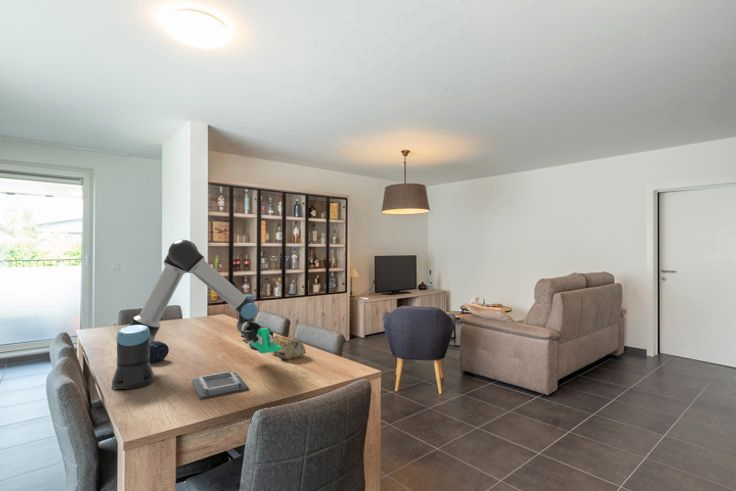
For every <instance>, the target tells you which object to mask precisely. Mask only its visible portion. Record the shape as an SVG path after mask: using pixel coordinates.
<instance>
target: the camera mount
mask: <svg viewBox="0 0 736 491" xmlns="http://www.w3.org/2000/svg"><path fill="white" fill-rule="evenodd" d="M268 328H269V327H261V329H259V330H258V333H257V334H258V335H260V336H261V337H262V344H260V343H258V342H257V341H256V342H255V343H254V347H255V348H254V349H257V353H260V354H269V353H273V352H275V351H280V350H281V346H280V345H278V344H276V343H274V342H272V343H270V342H269V341H268V342H267V338H268V337H269V330H268Z"/></svg>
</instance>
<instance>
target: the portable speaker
mask: <svg viewBox="0 0 736 491" xmlns="http://www.w3.org/2000/svg"><path fill="white" fill-rule="evenodd" d="M169 351H170V348H169V346H168V345H167V344H166V343H164V342H162V341H161V340H160V341H158V340H154V341H153V342H152V343H151V345H150V358H149V361H150V362H152V363H159V362H160V361H161V362H162V361H163V360H164V359H166V358H167V356H168V354H169Z"/></svg>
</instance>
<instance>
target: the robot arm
mask: <svg viewBox="0 0 736 491" xmlns="http://www.w3.org/2000/svg"><path fill="white" fill-rule="evenodd" d="M163 265H164V268H163V270H162V271H161V273H160V275H159V277H158V279H157V281H156V283H155V285H154V287H153V289H152V291H151V293H150V294H149V296H148V298H147V300H146V302H145V304H144V305H143V307H142V308H141V310H140V313H139V314H137V315H136V316H135V315H134V316H133V318H132V320H131V322H130V324H129V325H128V326H125V327H122V328H120V329H118V331H117V334H116V338H115V339H116V368H115V369H116V370H115V371H114V375H113V377H112V380H111V388H112V389H113V388H115V389H114V390H116V389H129V390H133V389H132V388H135V389H139V387H140V388H144V387H146V386H149V385H151V384H152V383H154V381H155V373H154V372H153V369H152V365H151V363H150V361H149V358H150V345H151V343H152V342H153V341H155V338H156V336H157V334H158V331H159V329H160V327H161V324H160V320H161V319H162V316H163V315H164V313H165V311H166V308H167V306H168V305H169V303H170V301H171V299H172V297H173V296H174V294H175V292H176V289H177V288H178V286H179V284H180V282H181V280H182V278H183V276H184V274H187V273H188V274H192V275H194V276H195V277H196V278H197V279H198V280H199V281H201V282H202V283H203V284H204V285H206V286H207V287H208V288H209V289H210V290H211V291H212V292H214V293H215V294H216V295H217V296H218V297H220V298H221V299H222V300H223V301H224V302H226V303H227V304H228V305H229V306H231V307H232V308H233V309H234V310H235V311H236V312H237V313H238V320H237V321H236V328H237V330H238V332H240V337H241V338H243V339H247V340H248V341H247V342H252V341H251V340H253V342H256V341H257V342H258V343H260V344H262V337H261V336H260V335H258V334H257V333H258V330H259V329H261V328H262V327H261V325H260V324H259V323H257V322H256V321H255V318H256V317H257V315H258V313H259V308H258V306H257V305H256V303H255V301H256V300H255V295H254V294H244V293H242V292H241V290H240V289H238V288H236V286H235V285H233V284H232V283H231V282H230V281H229V280H227V279H226V278H225V277H224V276H223V275H222V274H221V273H220V272H218V271H217V270H216V269H215V268H214V266H212V265H210V264H209V263H208V262H207V261H206V260H205V256H204V255H203V254H201V252H200V251H199V250H198V246H197V245H196V244H195V243H194V242H192V241H191V240H186V239H178V240H176V241H174V242H173V243H171V245H170V246H169V247H168V252H167V255H166V256H165V259H164V261H163ZM267 328H268V330H269V337H268V338H267V341H269V342H270V343H272V338H274V331H272V330H271V328H270V327H267Z"/></svg>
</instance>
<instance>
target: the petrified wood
mask: <svg viewBox="0 0 736 491" xmlns="http://www.w3.org/2000/svg"><path fill="white" fill-rule="evenodd" d="M272 342H274V343H276V344H278V345H280V346H281V350H280V351H275V352H272V353H273V354H275V355H276V357H277V358H281V359H283V360H290V359H293V358H294V359H300V358H302V357H303V356H304V355H305V354H306V353H307V351H306V347H305V345H304V343H303V342H302V341H299V340H296V339H292V338H290V337H288V336H287V337H286V336H282V335H281V336H280V335H277V334H275V335H273V338H272Z"/></svg>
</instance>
